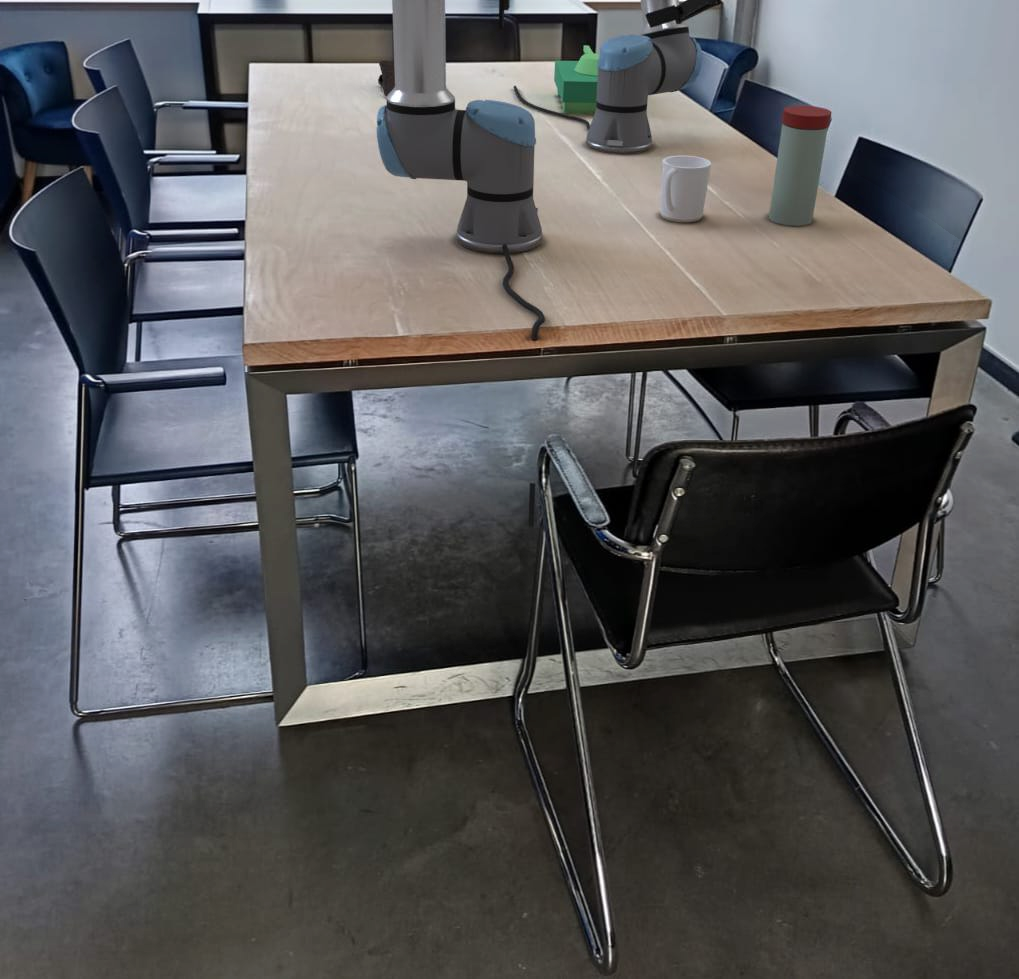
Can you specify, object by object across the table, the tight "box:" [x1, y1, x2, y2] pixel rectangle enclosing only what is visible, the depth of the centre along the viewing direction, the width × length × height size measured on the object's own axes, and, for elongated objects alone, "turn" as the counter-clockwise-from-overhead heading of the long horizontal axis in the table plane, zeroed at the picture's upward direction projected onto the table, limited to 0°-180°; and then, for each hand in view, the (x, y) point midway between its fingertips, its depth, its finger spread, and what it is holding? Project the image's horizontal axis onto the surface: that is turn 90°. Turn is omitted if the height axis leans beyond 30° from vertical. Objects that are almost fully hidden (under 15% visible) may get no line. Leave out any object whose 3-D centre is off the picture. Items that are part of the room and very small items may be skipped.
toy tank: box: [553, 44, 600, 115], centre depth 290 cm, size 18×12×35 cm
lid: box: [781, 105, 833, 129], centre depth 200 cm, size 9×9×2 cm
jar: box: [768, 122, 829, 227], centre depth 205 cm, size 8×8×20 cm
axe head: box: [377, 59, 395, 97], centre depth 299 cm, size 18×8×15 cm
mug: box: [659, 155, 712, 223], centre depth 206 cm, size 11×9×10 cm
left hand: (468, 26), depth 224 cm, fingers open, 13 cm apart
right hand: (660, 3), depth 211 cm, fingers open, 13 cm apart
